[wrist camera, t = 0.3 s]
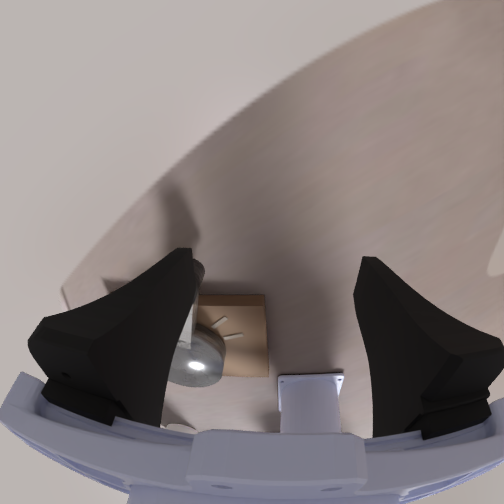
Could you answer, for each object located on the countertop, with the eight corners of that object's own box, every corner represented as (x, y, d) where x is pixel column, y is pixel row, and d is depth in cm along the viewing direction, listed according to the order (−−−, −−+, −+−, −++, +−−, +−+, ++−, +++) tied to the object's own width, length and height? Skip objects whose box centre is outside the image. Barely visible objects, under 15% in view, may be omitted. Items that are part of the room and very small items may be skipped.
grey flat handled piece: (221, 375, 30) (217, 399, 27) (153, 359, 30) (144, 381, 27) (243, 268, 22) (238, 295, 19) (145, 247, 22) (128, 271, 19)
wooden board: (269, 366, 31) (268, 378, 30) (142, 358, 33) (139, 368, 32) (264, 294, 26) (263, 306, 24) (110, 292, 27) (104, 302, 26)
